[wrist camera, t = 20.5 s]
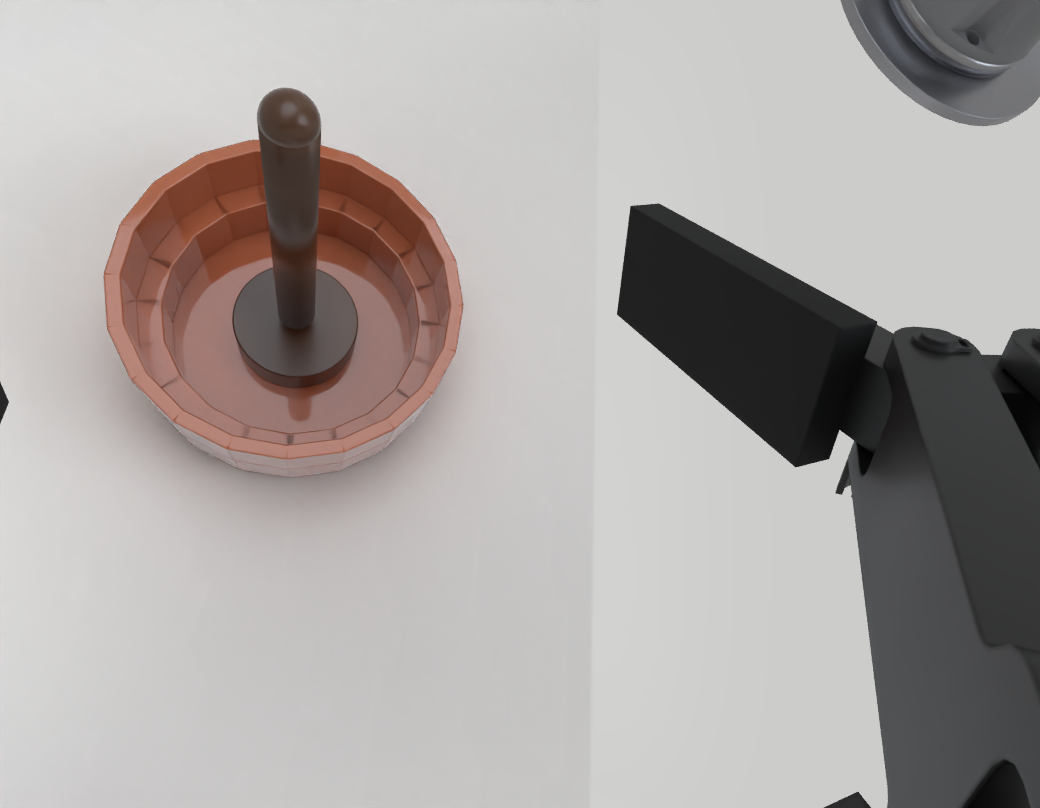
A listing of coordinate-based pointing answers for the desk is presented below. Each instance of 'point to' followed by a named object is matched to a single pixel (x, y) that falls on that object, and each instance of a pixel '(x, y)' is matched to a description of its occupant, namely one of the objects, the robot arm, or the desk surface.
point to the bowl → (244, 254)
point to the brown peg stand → (293, 259)
